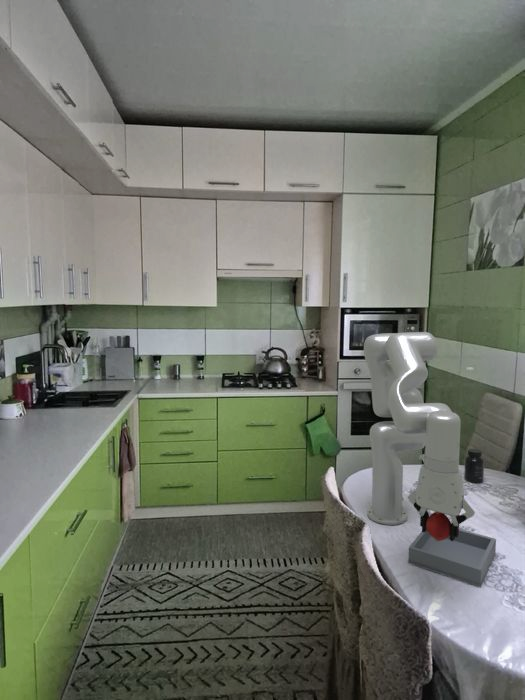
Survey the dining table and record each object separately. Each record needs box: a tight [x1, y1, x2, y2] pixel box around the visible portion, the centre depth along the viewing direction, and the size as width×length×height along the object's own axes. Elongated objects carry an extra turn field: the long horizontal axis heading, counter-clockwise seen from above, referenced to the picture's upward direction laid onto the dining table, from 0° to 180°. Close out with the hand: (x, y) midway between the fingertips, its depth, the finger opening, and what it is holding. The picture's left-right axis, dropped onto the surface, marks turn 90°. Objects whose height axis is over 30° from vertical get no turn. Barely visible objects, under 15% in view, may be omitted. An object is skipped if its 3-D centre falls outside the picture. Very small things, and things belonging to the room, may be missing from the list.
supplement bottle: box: [463, 448, 485, 484], centre depth 177 cm, size 7×7×12 cm
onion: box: [426, 511, 452, 541], centre depth 110 cm, size 6×6×8 cm
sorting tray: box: [407, 528, 497, 588], centre depth 125 cm, size 18×18×4 cm
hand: (438, 533), depth 111 cm, fingers closed on onion, 5 cm apart
